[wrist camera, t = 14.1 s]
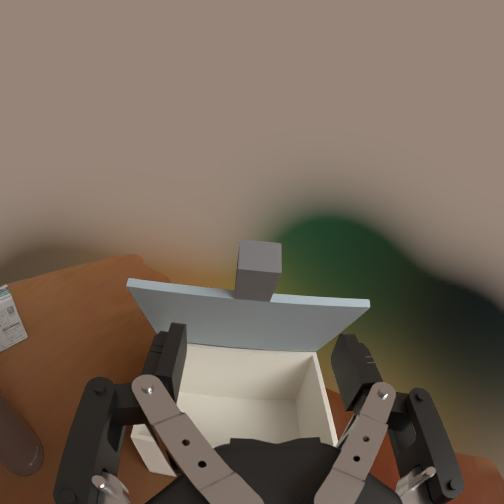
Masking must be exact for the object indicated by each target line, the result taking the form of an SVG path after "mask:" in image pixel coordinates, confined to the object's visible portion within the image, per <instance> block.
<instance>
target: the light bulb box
mask: <svg viewBox="0 0 504 504" xmlns="http://www.w3.org/2000/svg"><path fill="white" fill-rule="evenodd" d="M26 338H28V336H27V334H26V331H25V329H24V326H23V324H22V321H21V319H20V316H19V314H18V311H17V309H16V306H15V303H14V301H13V298H12V296H11V293H10V291H9V289H8V286H7V284H6V285H4V286H2V287H0V352H1V351H3V350H5V349H7V348H9V347H11V346H13V345H15V344H16V343H18V342H20V341H22V340H24V339H26Z"/></svg>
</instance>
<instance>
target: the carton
mask: <svg viewBox="0 0 504 504" xmlns="http://www.w3.org/2000/svg"><path fill="white" fill-rule="evenodd" d="M177 407H178V408H179V409H180V411H181V412H182V413H183V412H184V413H186V414H187V415H188V416H189V418H190V419H191V420H192V422H193V423H194V424H195V426H196V427H197V428H198V430H199V431H200V432H201V434H202V435H203V436H204V437H205V439H206V440H207V441H208V443H209V444H210V445H211V446H212V448H214V447H217V446H219V445H223V444H228V443H230V438H243V439H256V440H260V441H265V442H270V443H275V444H278V443H283V442H287V441H290V440H294V439H298V438H311V437H320V441H321V443H326V444H329V445H332V446H334V447H335V446H336V445H337V443H338V439H337V435H336V431H335V427H334V422H333V418H332V414H331V410H330V406H329V402H328V398H327V394H326V390H325V386H324V382H323V378H322V374H321V370H320V366H319V363H318V359H317V355H316V352H285V351H264V350H249V349H236V348H225V347H215V346H205V345H197V344H188V343H187V355H186V360H185V365H184V370H183V374H182V379H181V384H180V389H179V394H178V400H177ZM131 439H132V441H133V443H134V445H135V447H136V448H137V450H138V452H139V454H140V456H141V457H142V459H143V461H144V463H145V464H146V466H147V468H148V469H149V471H150V472H154V473H159V474H164V475H170V476H175V477H177V476H176V475H175V473H174V472H173V470H172V469H171V467H170V466H169V464H168V463H167V461H166V460H165V458H164V456H163V454H162V452H161V451H160V449H159V447H158V446H157V444H156V443H155V441H154V439H153V438H152V436H151V434H150V433H149V431H148V429H147V427H146V426H145V424H139V425H134V426H133V430H132V433H131Z"/></svg>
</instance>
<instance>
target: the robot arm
mask: <svg viewBox="0 0 504 504" xmlns="http://www.w3.org/2000/svg"><path fill="white" fill-rule="evenodd" d="M186 355H187V330H186V324H182V323H174V322H172V323H171V325H170V328H169V331H168V332H166V331H160V332H159V333H158V334H157V335H156V336H155V337H154V339H153V342H152V346H151V348H150V350H149V353H148V356H147V359H146V362H145V365H144V368H143V371H142V373H141V375H140V376H139V377H137V378H136V379H135V380H134V381H133V382H131V383H127V384H113V383H112V382H111V381H110V380H109V379H107V378H104V377H96V378H93V379H91V380H90V381H89V382H88V383H87V385H86V387H85V390H84V392H83V395H82V398H81V400H80V403H79V406H78V409H77V412H76V415H75V417H74V420H73V423H72V426H71V429H70V433H69V436H68V439H67V442H66V446H65V449H64V452H63V456H62V459H61V463H60V467H59V471H58V475H57V479H56V483H55V487H54V492H53V497H54V500H55V502H56V504H131V503H130V500H129V492H128V490H127V488H126V487H125V486H124V485H123V484H122V483H121V482H120V481H119V480H118V479H117V472H118V466H119V461H120V455H121V450H122V445H123V440H124V435H125V430H126V425H139V424H145V426H146V427H147V429H148V431H149V433H150V434H151V436H152V438H153V439H154V441H155V443H156V444H157V446H158V447H159V449H160V451H161V452H162V454H163V456H164V458H165V460H166V461H167V463H168V464H169V466H170V467H171V469H172V470H173V472H174V473H175V475H176V476H177V478H176V479H175V480H174V481H173V482H171V483H170V484H169V485H168V486H166V487H165V488H164V489H163V490H162V491H160V492H159V493H158V494H156V495H155V496H154V497H153V498H151V499H150V500H149V501H147V502H146V503H145V504H445V503H447V502H449V501H451V500H452V499H454V498H456V497H458V496H459V495H460V494H461V493H462V491H463V489H464V480H463V477H462V474H461V471H460V468H459V465H458V462H457V460H456V457H455V454H454V451H453V449H452V446H451V444H450V441H449V438H448V436H447V433H446V431H445V429H444V426H443V424H442V421H441V419H440V416H439V414H438V412H437V410H436V407H435V405H434V403H433V401H432V398H431V396H430V394H429V393H428V392H427V391H426V390H424V389H422V388H414V389H412V390H411V391H410V393H409V394H406V393H399V392H395V390H394V388H393V387H392V386H391V385H389V384H387V383H384V382H383V380H382V378H381V376H380V373H379V371H378V369H377V367H376V365H375V363H374V360H373V358H372V357H371V354H370V352H369V350H368V349H367V348H366V346H365V345H364V344H363V343H358V341H357V338H356V336H355V335H354V334H340V335H339V337H338V340H337V342H336V345H335V348H334V350H333V352H332V355H331V365H332V368H333V371H334V374H335V378H336V380H337V384H338V387H339V391H340V394H341V397H342V401H343V404H344V407H345V411H352V410H353V411H354V415H353V416H352V418H351V420H350V422H349V424H348V426H347V428H346V429H345V431H344V433H343V435H342V437H341V438H340V440H339V442H338V443H337V445H336V446H335V447H334V446H332V445H329V444H326V443H321V441H320V437H311V438H298V439H294V440H290V441H287V442H283V443H278V444H275V443H270V442H265V441H260V440H256V439H243V438H230V443H228V444H223V445H219V446H217V447H214V448H212V446H211V445H210V444H209V443H208V441H207V440H206V439H205V437H204V436H203V435H202V434H201V432H200V431H199V430H198V428H197V427H196V426H195V424H194V423H193V422H192V420H191V419H190V418H189V416H188V415H187V414H186V413H184V412H183V413H182V412H181V411H180V409H179V408H178V407H177V400H178V394H179V389H180V384H181V379H182V374H183V370H184V365H185V360H186ZM412 425H413V426H412ZM413 427H414V428H413ZM414 430H415V431H414ZM386 431H388V434H389V437H390V441H391V444H392V448H393V452H394V455H395V459H396V463H397V467H398V471H399V475H400V480H399V481H398V483H397V490H396V492H395V491H393V490H392V489H390V488H389V487H388V486H386V485H385V484H383V483H382V482H381V481H379V480H378V479H377V478H375V477H374V476H373V475H371V474H370V473H369V470H370V468H371V466H372V464H373V462H374V460H375V457H376V455H377V453H378V450H379V448H380V446H381V443H382V441H383V438H384V436H385V433H386ZM415 432H416V434H415ZM42 460H43V447H42V444H41V442H40V440H39V438H38V437H37V436H36V435H35V434H34V432H33V431H32V430H31V429H30V428H29V427H28V426H27V424H26V423H25V422H24V421H23V419H22V418H21V417H20V416H19V415H18V413H17V412H16V411H15V409H14V408H13V407H12V406H11V404H10V403H9V402H8V400H7V399H6V398H5V396H4V395H3V393H2V392H1V391H0V463H1V464H2V465H3V466H5V467H6V468H7V469H9V470H10V471H11V472H13V473H15V474H17V475H22V476H25V475H30V474H33V473H34V472H35V471H37V470H38V468H39V467H40V465H41V463H42Z"/></svg>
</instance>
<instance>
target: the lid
mask: <svg viewBox="0 0 504 504" xmlns="http://www.w3.org/2000/svg"><path fill="white" fill-rule="evenodd" d="M281 260H282V259H281V243H272V242H263V241H253V240H244V239H241V240H240V247H239V255H238V263H237V271H236V282H235V290H226V289H216V288H207V287H198V286H188V285H180V284H171V283H163V282H155V281H147V280H139V279H132V278H128V282H127V288H128V290H129V291H130V293H131V294H132V296H133V298H134V299H135V301H136V303H137V304H138V306H139V307H140V309H141V310H142V312H143V313H144V315H145V316H146V318H147V320H148V321H149V323H150V324H151V325H152V327H153V328H154V330H155V331H156V333H157V334H158V333H159V332H160V331H166V332H168V331H169V328H170V325H171V323H172V322H174V323H182V324H186V330H187V342H189V343H197V344H205V345H215V346H225V347H236V348H249V349H264V350H286V351H287V350H288V351H317V350H319V349H320V348H321V347H322V346H324V345H325V344H326V343H327V342H329V341H330V340H331V339H333V338H334V337H335V336H337V335H338V334H339V333H340V332H342V331H343V330H344V329H345V328H346V327H348V326H349V325H350V324H351V323H353V322H354V321H355V320H356V319H357V318H359V317H360V316H361V315H362V314H363V313H364V312H366V311H367V310H368V309H369V308H370V302H369V300H367V299H366V300H365V299H346V298H328V297H312V296H298V295H283V294H273V293H274V290H275V288H276V286H277V283H278V281H279V278H280V276H281V273H282V268H281V267H282V262H281Z"/></svg>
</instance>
